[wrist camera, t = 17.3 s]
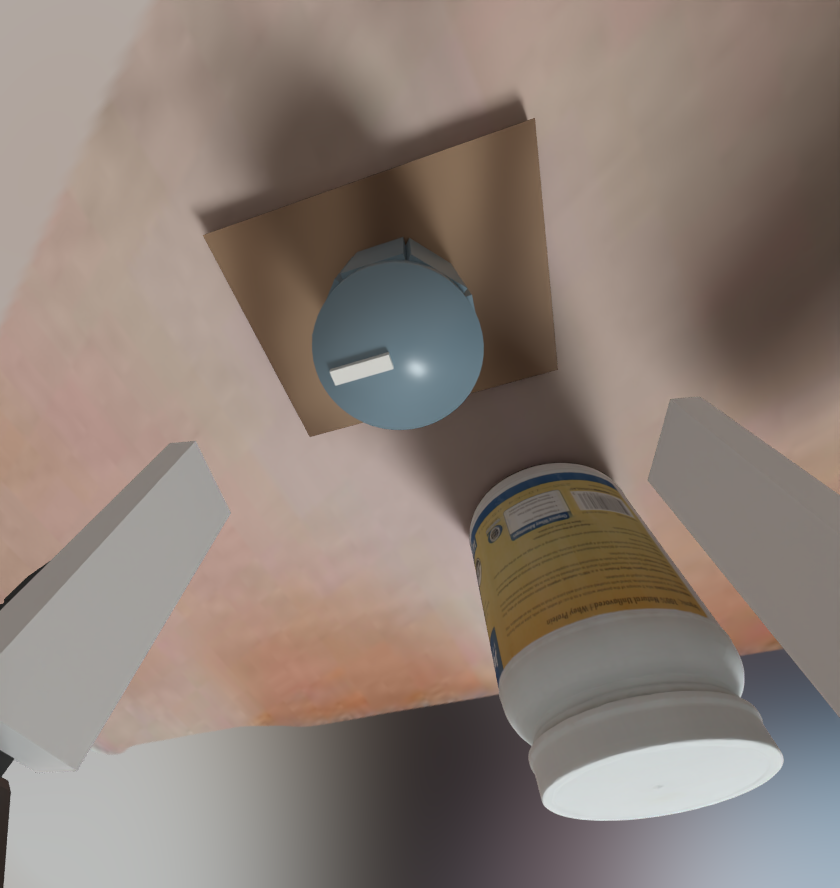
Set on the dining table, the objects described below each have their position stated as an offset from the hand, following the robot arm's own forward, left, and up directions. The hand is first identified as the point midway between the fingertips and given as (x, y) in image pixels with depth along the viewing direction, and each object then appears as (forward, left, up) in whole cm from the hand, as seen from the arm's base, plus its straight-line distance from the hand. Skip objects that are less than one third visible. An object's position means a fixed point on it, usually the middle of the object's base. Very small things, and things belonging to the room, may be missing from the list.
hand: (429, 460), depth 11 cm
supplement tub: (-5, +18, -14) cm, 23 cm away
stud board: (+1, -1, -13) cm, 13 cm away
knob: (+1, -1, -12) cm, 12 cm away
